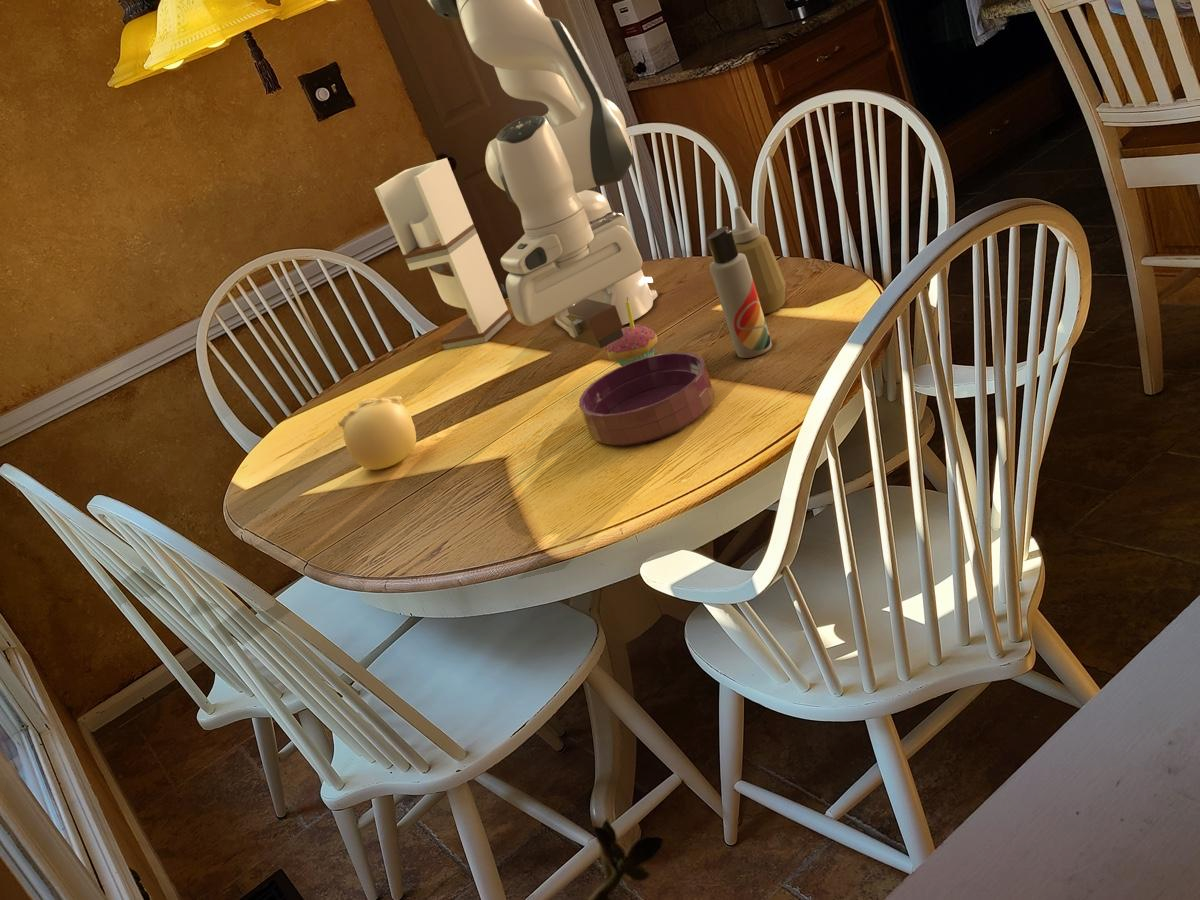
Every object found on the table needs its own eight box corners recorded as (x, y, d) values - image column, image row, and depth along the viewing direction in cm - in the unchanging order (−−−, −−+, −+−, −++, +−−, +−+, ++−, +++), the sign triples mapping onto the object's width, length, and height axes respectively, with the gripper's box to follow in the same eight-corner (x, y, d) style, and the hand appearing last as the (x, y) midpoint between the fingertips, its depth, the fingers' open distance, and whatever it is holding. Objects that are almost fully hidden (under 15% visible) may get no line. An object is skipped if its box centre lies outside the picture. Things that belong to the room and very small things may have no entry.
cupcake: (646, 353, 187) (623, 288, 183) (675, 359, 180) (652, 292, 176) (606, 377, 184) (582, 311, 179) (634, 384, 177) (610, 316, 172)
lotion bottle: (774, 351, 170) (738, 228, 162) (738, 362, 170) (700, 241, 162) (770, 338, 175) (734, 219, 167) (735, 349, 176) (698, 231, 167)
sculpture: (421, 433, 190) (396, 378, 186) (426, 458, 179) (399, 400, 175) (358, 459, 190) (331, 404, 185) (360, 486, 179) (331, 428, 174)
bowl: (569, 432, 169) (557, 400, 167) (670, 375, 175) (659, 344, 173) (632, 461, 153) (619, 426, 150) (741, 397, 159) (730, 363, 157)
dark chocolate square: (571, 340, 163) (560, 311, 161) (596, 327, 165) (586, 298, 163) (600, 349, 156) (588, 319, 154) (626, 335, 157) (615, 305, 155)
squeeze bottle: (792, 293, 189) (763, 193, 182) (789, 311, 182) (760, 208, 175) (746, 305, 192) (716, 206, 184) (742, 323, 185) (710, 221, 177)
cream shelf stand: (470, 326, 238) (404, 170, 224) (511, 318, 233) (446, 157, 219) (444, 349, 229) (374, 188, 215) (486, 342, 224) (417, 176, 210)
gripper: (611, 205, 160) (641, 293, 166) (489, 264, 153) (525, 353, 159) (632, 207, 155) (663, 297, 160) (508, 268, 148) (544, 360, 154)
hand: (593, 326), depth 159 cm, fingers closed on dark chocolate square, 4 cm apart
